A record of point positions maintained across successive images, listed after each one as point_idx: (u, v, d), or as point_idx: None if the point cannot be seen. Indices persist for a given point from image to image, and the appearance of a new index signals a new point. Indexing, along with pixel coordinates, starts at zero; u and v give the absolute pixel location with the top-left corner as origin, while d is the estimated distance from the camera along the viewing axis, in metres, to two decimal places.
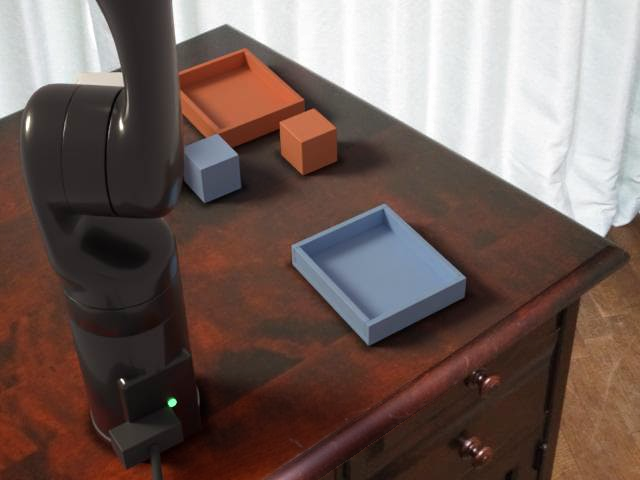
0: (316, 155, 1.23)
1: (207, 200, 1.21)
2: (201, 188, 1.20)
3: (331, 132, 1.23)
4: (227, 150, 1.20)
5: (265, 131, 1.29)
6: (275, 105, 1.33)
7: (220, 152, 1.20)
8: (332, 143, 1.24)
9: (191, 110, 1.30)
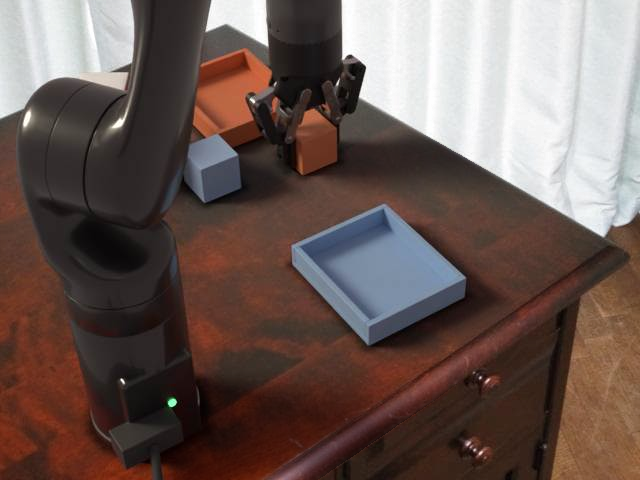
0: (316, 155, 1.23)
1: (207, 200, 1.21)
2: (201, 188, 1.20)
3: (331, 132, 1.23)
4: (227, 150, 1.20)
5: None
6: (275, 105, 1.33)
7: (220, 152, 1.20)
8: (332, 143, 1.24)
9: None
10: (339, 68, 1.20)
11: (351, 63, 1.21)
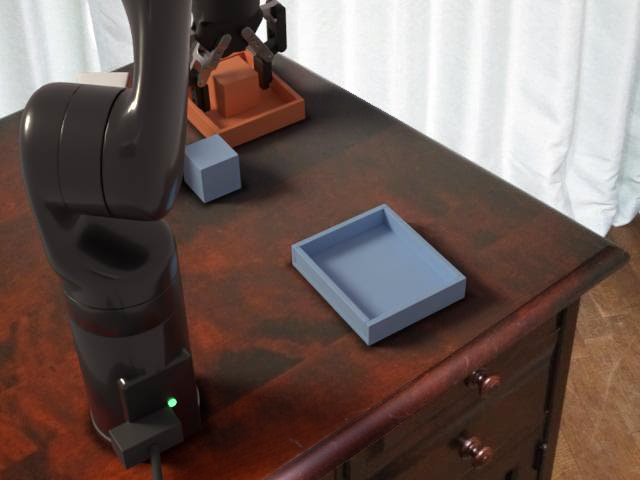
0: (238, 99, 1.30)
1: (207, 200, 1.21)
2: (201, 188, 1.20)
3: (253, 77, 1.30)
4: (227, 150, 1.20)
5: (265, 131, 1.29)
6: (275, 105, 1.33)
7: (220, 152, 1.20)
8: (254, 87, 1.31)
9: (191, 110, 1.30)
10: (258, 15, 1.26)
11: (270, 7, 1.28)
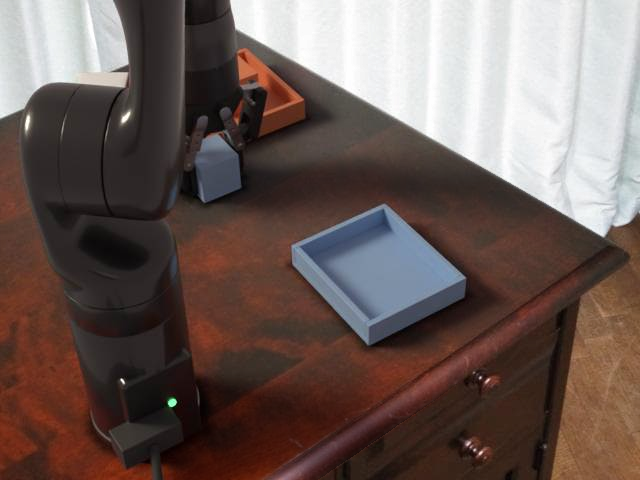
0: None
1: (207, 200, 1.21)
2: (201, 188, 1.20)
3: (253, 77, 1.30)
4: (227, 150, 1.20)
5: (265, 131, 1.29)
6: (275, 105, 1.33)
7: (220, 152, 1.20)
8: None
9: None
10: (238, 94, 1.16)
11: (252, 88, 1.18)
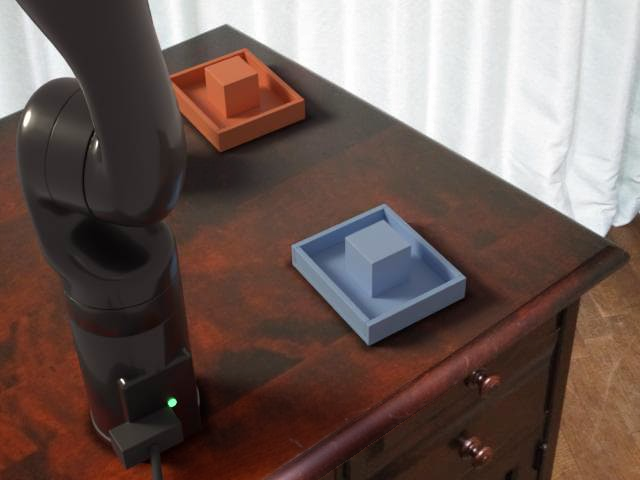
0: (238, 99, 1.30)
1: (375, 294, 1.09)
2: (370, 282, 1.08)
3: (253, 77, 1.30)
4: (398, 240, 1.08)
5: (265, 131, 1.29)
6: (275, 105, 1.33)
7: (390, 241, 1.08)
8: (254, 87, 1.31)
9: (191, 110, 1.30)
10: None
11: None
